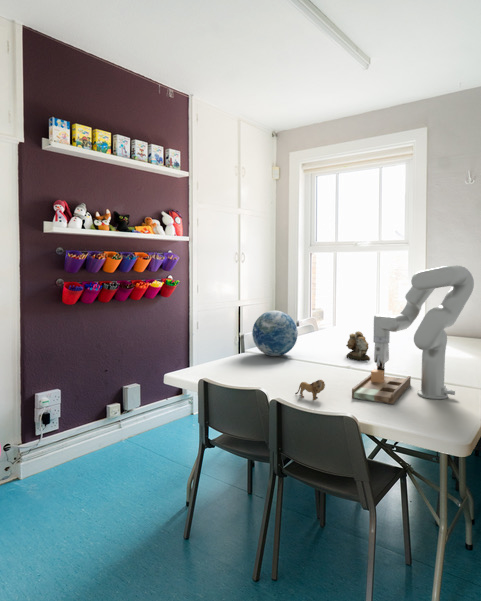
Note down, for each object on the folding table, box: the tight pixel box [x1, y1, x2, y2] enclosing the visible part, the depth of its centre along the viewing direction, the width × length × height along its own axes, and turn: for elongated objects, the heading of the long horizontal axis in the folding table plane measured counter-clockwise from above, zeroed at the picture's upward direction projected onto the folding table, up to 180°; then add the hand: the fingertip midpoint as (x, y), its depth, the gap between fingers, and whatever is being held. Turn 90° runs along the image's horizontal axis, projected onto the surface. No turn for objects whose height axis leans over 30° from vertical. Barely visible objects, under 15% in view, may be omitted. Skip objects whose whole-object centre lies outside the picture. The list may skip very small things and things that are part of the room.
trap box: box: [351, 373, 411, 406], centre depth 205 cm, size 18×34×4 cm, turn 147°
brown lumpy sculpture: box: [345, 331, 371, 361], centre depth 276 cm, size 18×12×17 cm, turn 30°
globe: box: [251, 310, 299, 357], centre depth 286 cm, size 30×30×30 cm
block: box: [370, 368, 385, 383], centre depth 212 cm, size 5×5×5 cm
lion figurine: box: [294, 379, 326, 401], centre depth 198 cm, size 15×5×9 cm, turn 57°
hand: (380, 375), depth 216 cm, fingers closed
